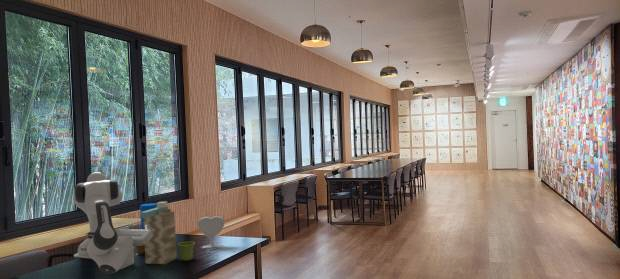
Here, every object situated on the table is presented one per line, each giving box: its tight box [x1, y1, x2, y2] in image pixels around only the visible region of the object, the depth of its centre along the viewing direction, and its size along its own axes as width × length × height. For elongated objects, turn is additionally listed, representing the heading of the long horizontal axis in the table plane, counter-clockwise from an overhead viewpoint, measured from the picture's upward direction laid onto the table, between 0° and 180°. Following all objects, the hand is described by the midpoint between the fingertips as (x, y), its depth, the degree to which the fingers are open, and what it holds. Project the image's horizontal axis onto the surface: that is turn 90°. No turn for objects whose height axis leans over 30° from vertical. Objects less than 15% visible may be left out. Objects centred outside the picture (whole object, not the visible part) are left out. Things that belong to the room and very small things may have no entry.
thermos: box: [139, 202, 158, 230], centre depth 293 cm, size 11×11×25 cm
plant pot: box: [176, 241, 196, 261], centre depth 248 cm, size 9×9×9 cm
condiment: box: [134, 245, 145, 256], centre depth 267 cm, size 7×8×12 cm
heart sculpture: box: [197, 215, 225, 249], centre depth 276 cm, size 16×5×18 cm, turn 97°
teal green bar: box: [139, 201, 169, 219], centre depth 243 cm, size 4×21×6 cm, turn 166°
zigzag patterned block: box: [143, 208, 177, 265], centre depth 247 cm, size 12×11×28 cm
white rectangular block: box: [119, 250, 135, 270], centre depth 240 cm, size 8×11×16 cm
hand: (139, 225), depth 230 cm, fingers open, 8 cm apart
